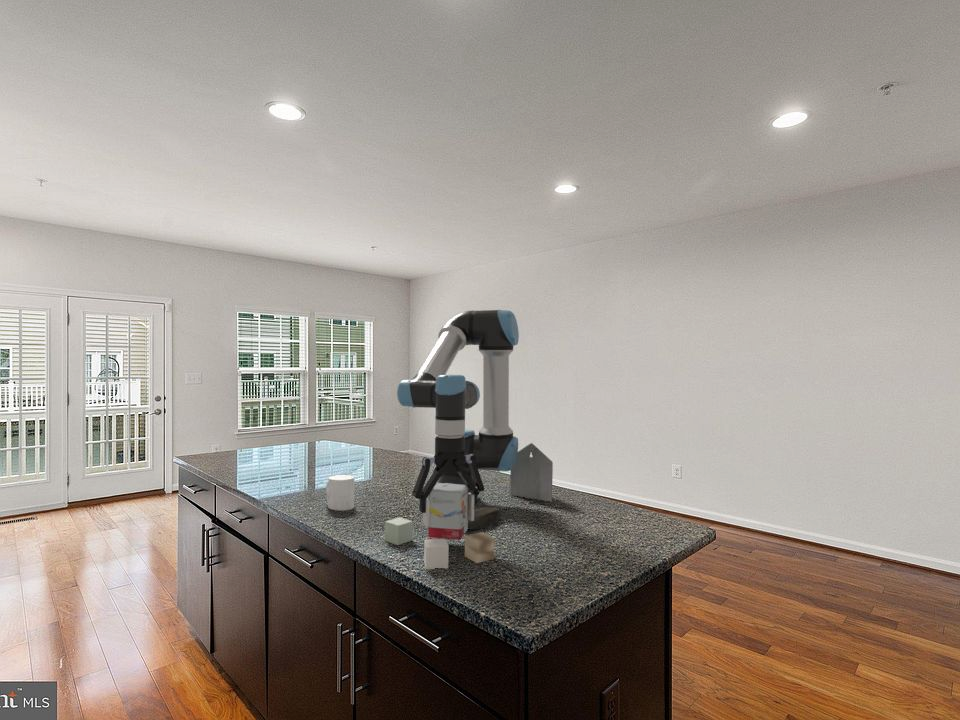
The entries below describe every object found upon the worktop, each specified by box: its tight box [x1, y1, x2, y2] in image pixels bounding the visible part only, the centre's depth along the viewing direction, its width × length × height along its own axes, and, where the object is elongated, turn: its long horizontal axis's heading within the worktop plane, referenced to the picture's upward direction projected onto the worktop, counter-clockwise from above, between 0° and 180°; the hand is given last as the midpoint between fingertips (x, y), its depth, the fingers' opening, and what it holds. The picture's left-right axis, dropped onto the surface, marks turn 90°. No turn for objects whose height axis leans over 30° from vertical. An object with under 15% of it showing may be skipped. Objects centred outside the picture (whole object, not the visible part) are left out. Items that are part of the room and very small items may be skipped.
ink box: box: [427, 482, 469, 541], centre depth 128 cm, size 9×9×12 cm
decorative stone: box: [467, 506, 503, 531], centre depth 146 cm, size 17×6×4 cm, turn 138°
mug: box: [325, 474, 356, 511], centre depth 163 cm, size 12×9×8 cm
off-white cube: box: [423, 538, 450, 570], centre depth 115 cm, size 5×5×5 cm
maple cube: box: [464, 532, 495, 564], centre depth 120 cm, size 5×5×5 cm
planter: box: [509, 442, 554, 503], centre depth 180 cm, size 16×8×19 cm, turn 58°
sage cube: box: [384, 516, 414, 546], centre depth 131 cm, size 5×5×5 cm
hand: (448, 522), depth 128 cm, fingers closed on ink box, 11 cm apart
